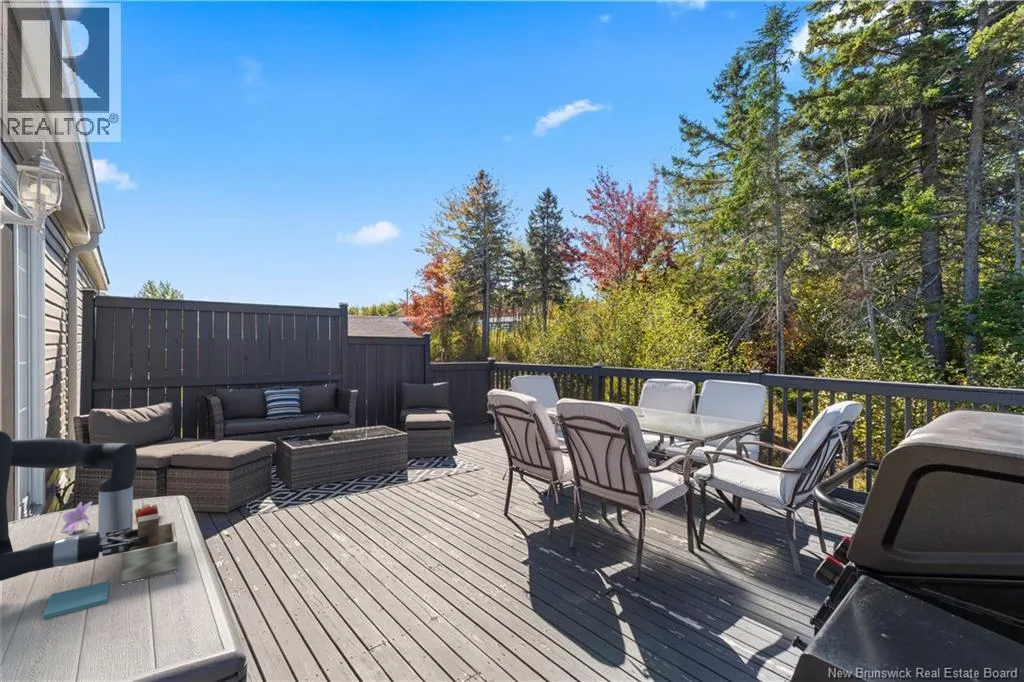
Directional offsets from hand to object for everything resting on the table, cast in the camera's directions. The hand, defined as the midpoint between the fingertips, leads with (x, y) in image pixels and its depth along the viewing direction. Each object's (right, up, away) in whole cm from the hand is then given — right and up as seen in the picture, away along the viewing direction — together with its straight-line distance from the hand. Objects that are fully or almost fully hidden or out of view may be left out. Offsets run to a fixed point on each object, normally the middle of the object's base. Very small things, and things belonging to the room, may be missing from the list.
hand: (148, 534), depth 142 cm
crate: (0, -10, 0) cm, 10 cm away
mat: (-4, -9, -19) cm, 22 cm away
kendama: (-32, -10, +39) cm, 51 cm away
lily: (-48, -10, +26) cm, 55 cm away
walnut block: (0, -7, 0) cm, 7 cm away
